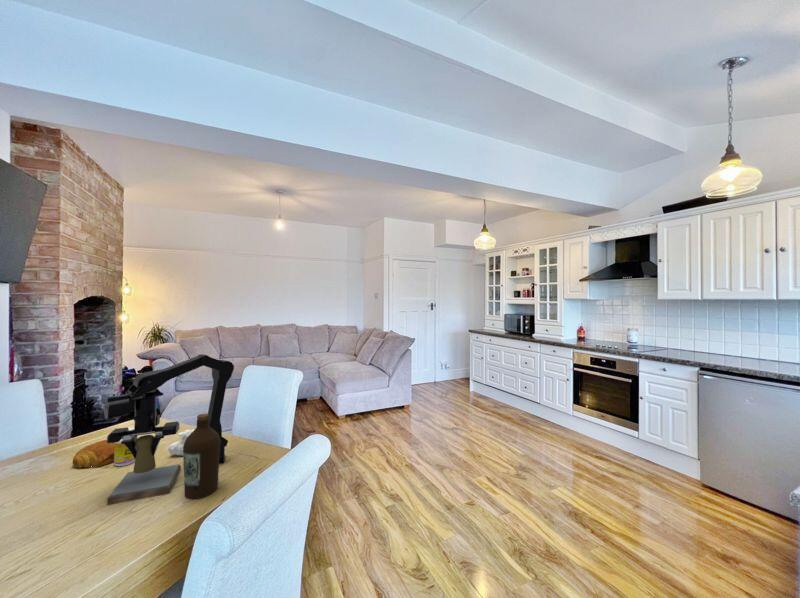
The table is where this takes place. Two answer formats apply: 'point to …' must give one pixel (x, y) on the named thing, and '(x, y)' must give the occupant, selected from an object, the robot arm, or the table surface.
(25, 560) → the table surface
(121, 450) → the supplement bottle
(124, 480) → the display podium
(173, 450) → the bust
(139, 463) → the brown rounded upright piece
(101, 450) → the croissant
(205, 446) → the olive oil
